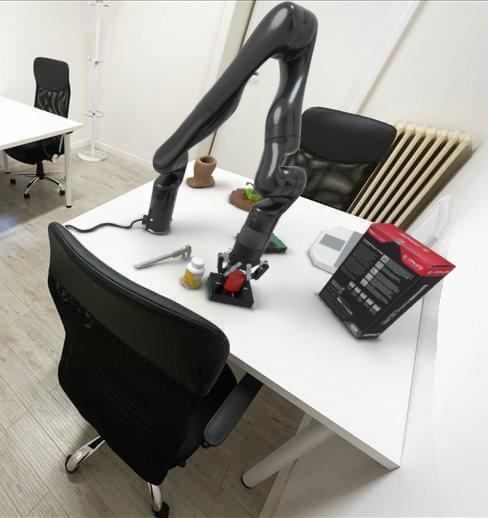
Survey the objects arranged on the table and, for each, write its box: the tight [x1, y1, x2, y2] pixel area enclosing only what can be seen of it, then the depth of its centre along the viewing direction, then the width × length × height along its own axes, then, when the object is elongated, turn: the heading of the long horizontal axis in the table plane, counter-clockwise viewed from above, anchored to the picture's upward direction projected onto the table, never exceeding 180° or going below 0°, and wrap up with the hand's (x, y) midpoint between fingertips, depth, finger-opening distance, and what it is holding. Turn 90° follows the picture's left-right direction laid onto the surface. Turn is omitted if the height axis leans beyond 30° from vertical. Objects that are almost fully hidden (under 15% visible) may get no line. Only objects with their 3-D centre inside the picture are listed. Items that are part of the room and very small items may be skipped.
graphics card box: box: [318, 222, 457, 340], centre depth 76 cm, size 17×7×27 cm, turn 5°
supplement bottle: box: [182, 256, 206, 290], centre depth 90 cm, size 5×5×10 cm
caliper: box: [135, 243, 192, 269], centre depth 99 cm, size 20×1×6 cm, turn 109°
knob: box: [223, 269, 246, 292], centre depth 87 cm, size 5×5×5 cm
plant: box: [229, 181, 267, 212], centre depth 134 cm, size 20×20×11 cm
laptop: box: [308, 193, 453, 275], centre depth 99 cm, size 33×24×26 cm
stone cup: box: [185, 154, 218, 188], centre depth 145 cm, size 15×12×15 cm
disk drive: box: [235, 232, 288, 254], centre depth 110 cm, size 10×3×15 cm
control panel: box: [207, 271, 255, 309], centre depth 89 cm, size 12×10×3 cm
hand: (231, 284), depth 88 cm, fingers closed on knob, 5 cm apart
